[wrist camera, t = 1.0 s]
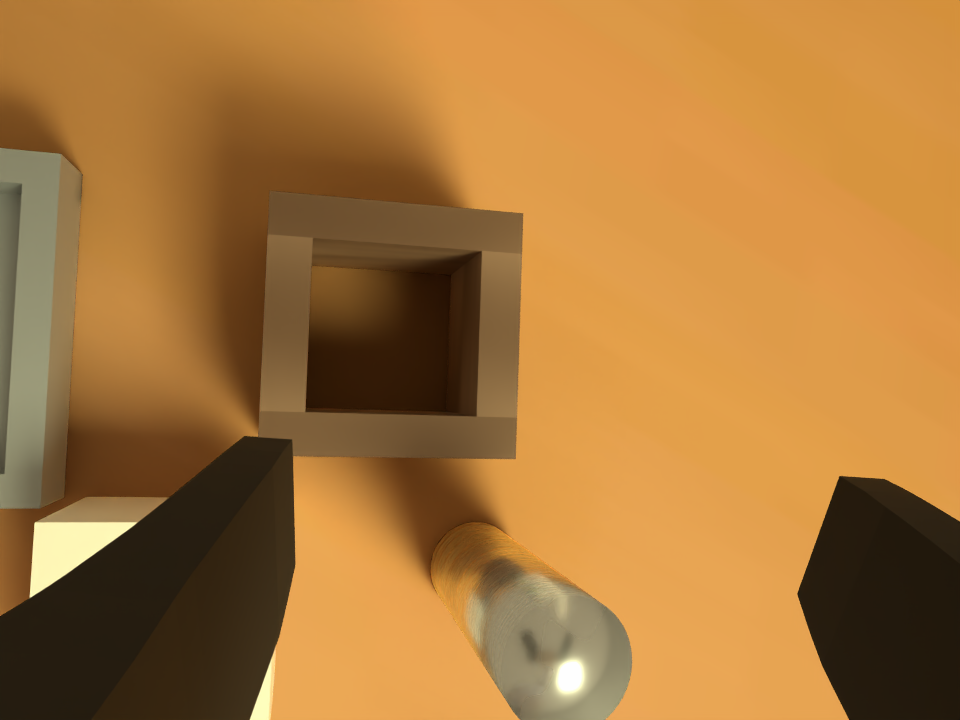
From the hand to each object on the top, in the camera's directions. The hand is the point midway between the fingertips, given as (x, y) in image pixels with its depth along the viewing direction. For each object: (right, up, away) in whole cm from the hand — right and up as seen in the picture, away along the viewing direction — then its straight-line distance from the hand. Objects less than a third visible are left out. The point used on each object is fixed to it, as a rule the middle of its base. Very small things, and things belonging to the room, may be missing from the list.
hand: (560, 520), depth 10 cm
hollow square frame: (-4, +3, +12) cm, 12 cm away
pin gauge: (-1, -4, +12) cm, 13 cm away
